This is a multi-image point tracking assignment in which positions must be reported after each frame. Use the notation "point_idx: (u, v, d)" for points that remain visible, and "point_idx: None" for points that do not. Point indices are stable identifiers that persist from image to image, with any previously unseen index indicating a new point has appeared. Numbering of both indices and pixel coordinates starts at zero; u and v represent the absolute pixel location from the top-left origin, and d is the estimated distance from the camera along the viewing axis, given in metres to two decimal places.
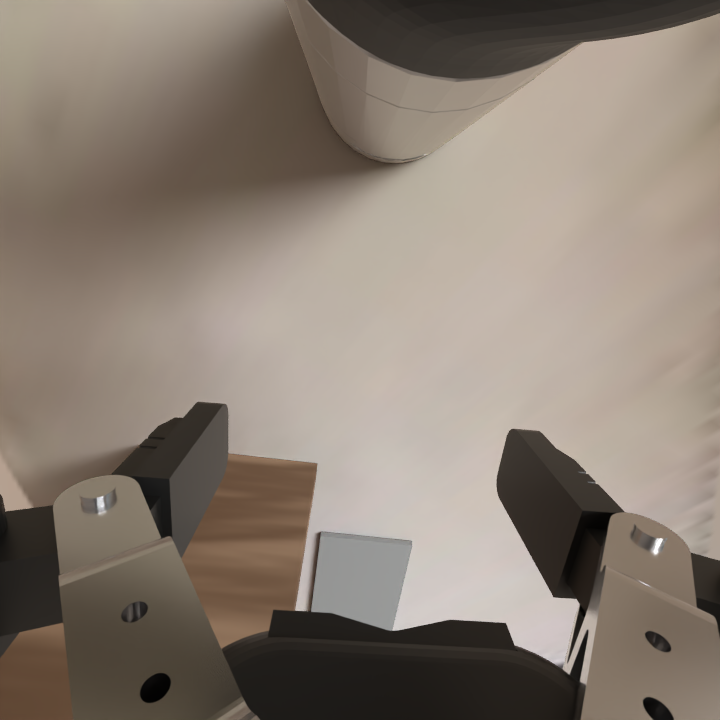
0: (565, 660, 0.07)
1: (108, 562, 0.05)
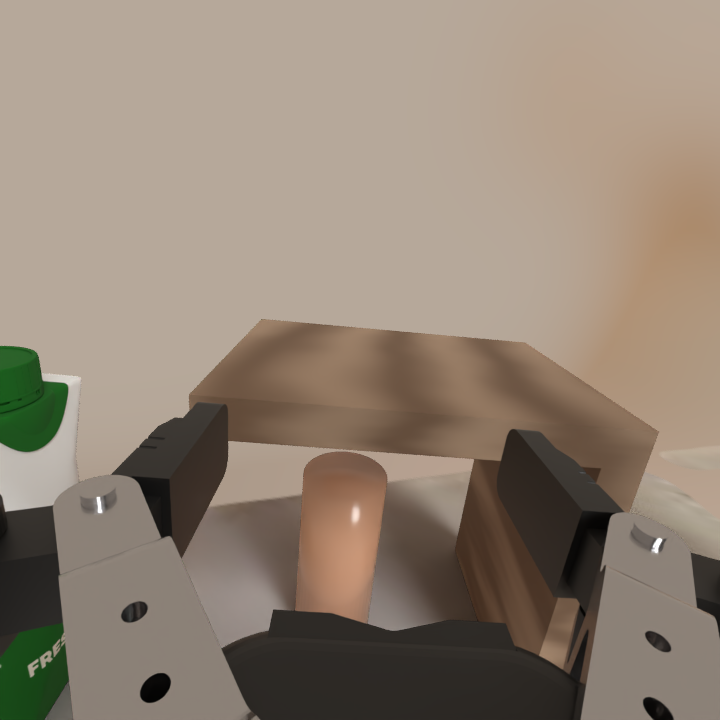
0: (565, 660, 0.07)
1: (108, 562, 0.05)
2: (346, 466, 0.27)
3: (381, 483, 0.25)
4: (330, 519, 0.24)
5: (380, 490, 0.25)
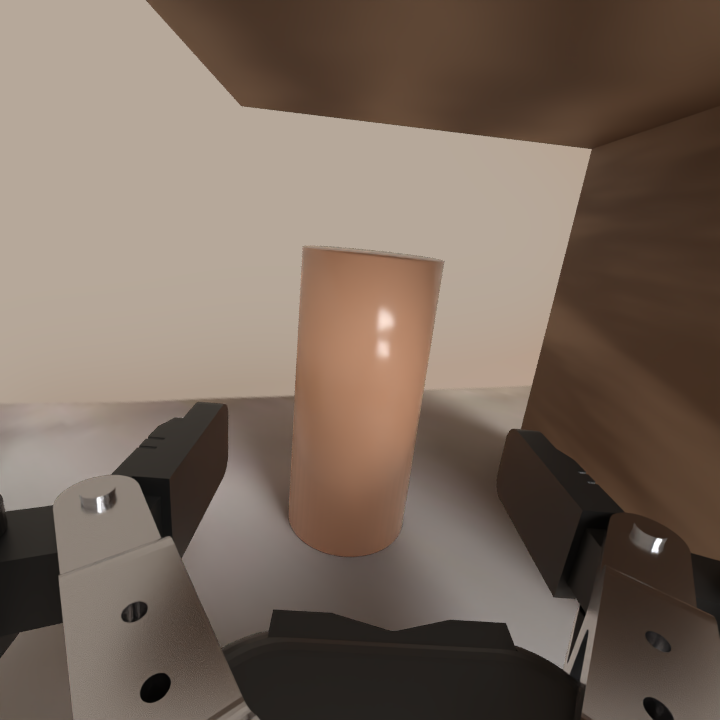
0: (565, 660, 0.07)
1: (108, 562, 0.05)
2: (374, 252, 0.16)
3: (435, 260, 0.15)
4: (351, 299, 0.13)
5: (436, 261, 0.14)
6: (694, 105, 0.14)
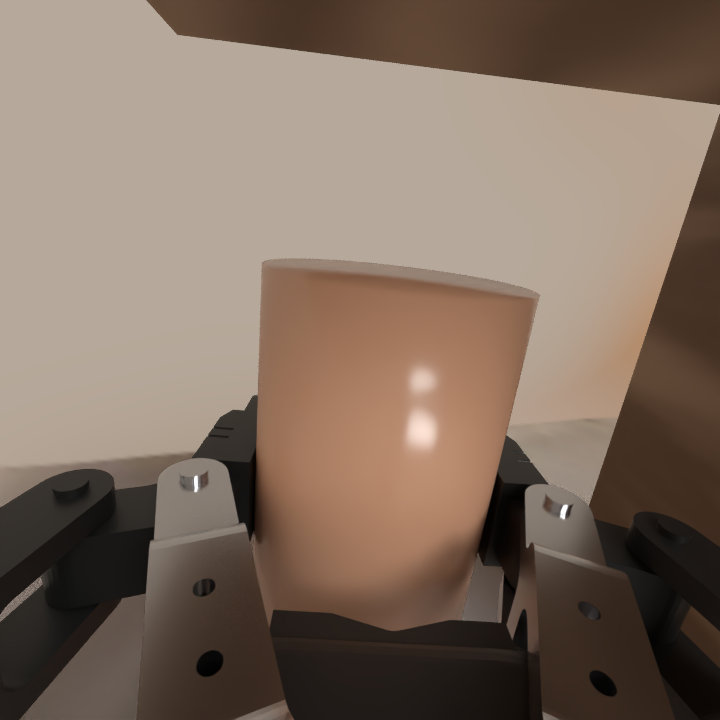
0: None
1: (190, 537, 0.05)
2: (396, 271, 0.09)
3: (521, 291, 0.08)
4: (358, 384, 0.06)
5: (531, 296, 0.07)
6: None
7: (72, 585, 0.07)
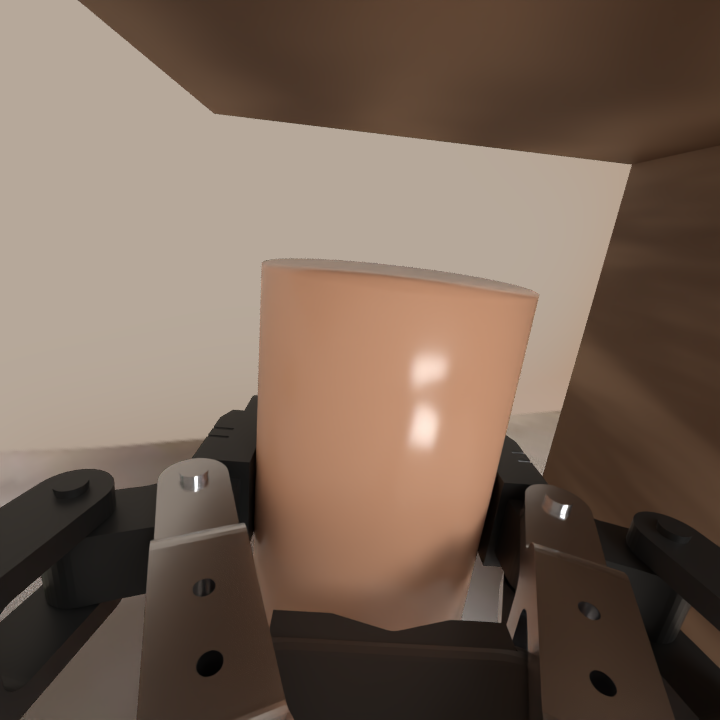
0: None
1: (189, 537, 0.05)
2: (396, 271, 0.09)
3: (520, 291, 0.08)
4: (358, 384, 0.06)
5: (531, 296, 0.07)
6: None
7: (72, 585, 0.07)
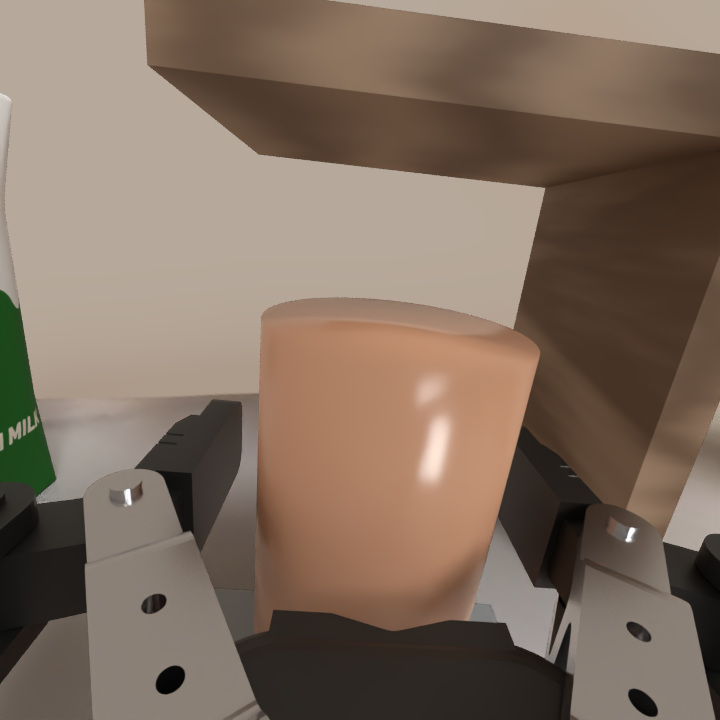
0: (546, 651, 0.07)
1: (131, 554, 0.05)
2: (396, 315, 0.09)
3: (521, 345, 0.08)
4: (358, 454, 0.06)
5: (531, 356, 0.07)
6: (605, 170, 0.18)
7: None
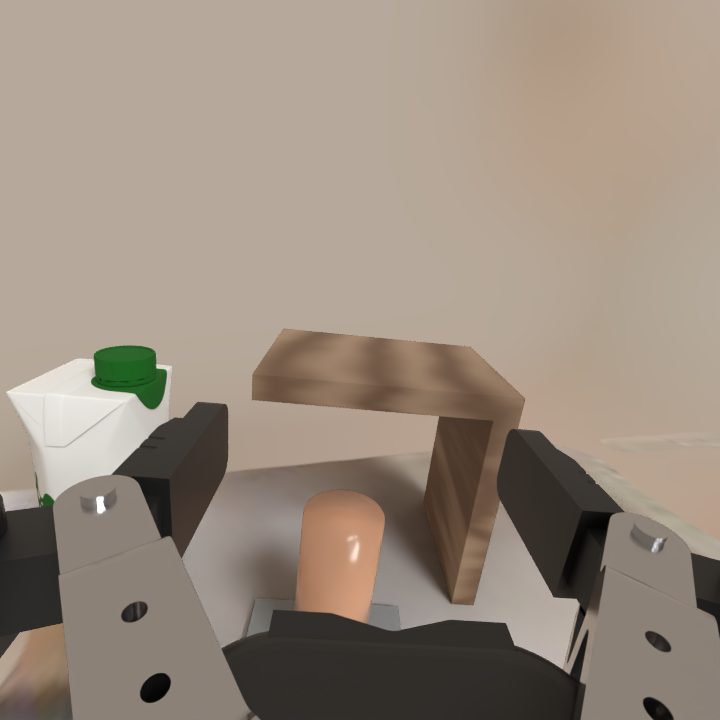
0: (565, 660, 0.07)
1: (108, 562, 0.05)
2: (345, 506, 0.27)
3: (379, 523, 0.26)
4: (330, 561, 0.24)
5: (378, 531, 0.25)
6: None
7: None
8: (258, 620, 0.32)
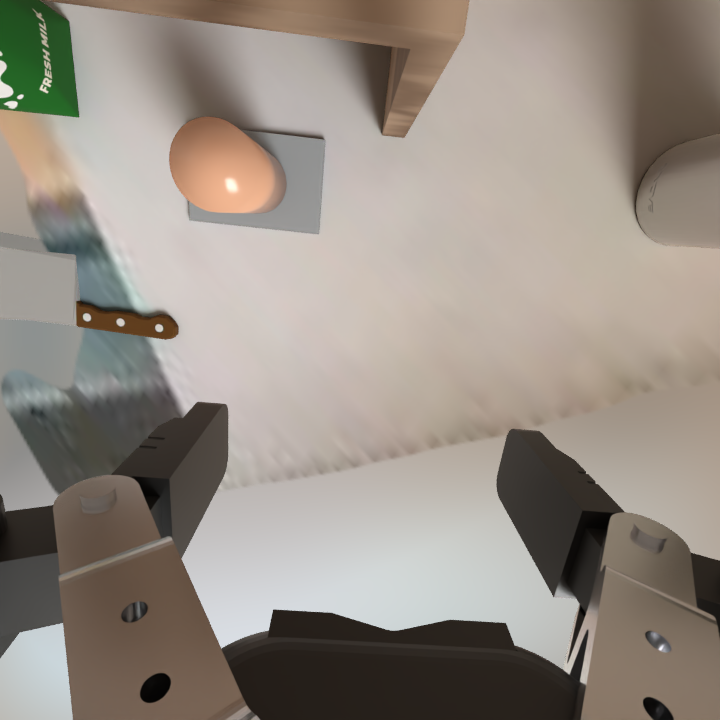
0: (565, 660, 0.07)
1: (108, 562, 0.05)
2: (213, 150, 0.25)
3: (251, 180, 0.25)
4: None
5: (249, 192, 0.25)
6: None
7: None
8: None
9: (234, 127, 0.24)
